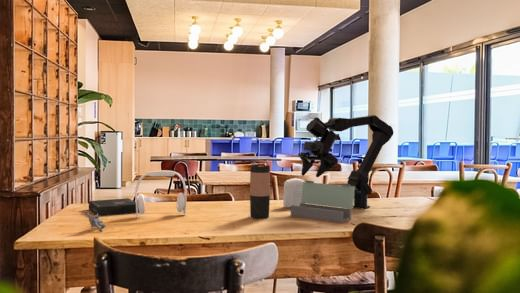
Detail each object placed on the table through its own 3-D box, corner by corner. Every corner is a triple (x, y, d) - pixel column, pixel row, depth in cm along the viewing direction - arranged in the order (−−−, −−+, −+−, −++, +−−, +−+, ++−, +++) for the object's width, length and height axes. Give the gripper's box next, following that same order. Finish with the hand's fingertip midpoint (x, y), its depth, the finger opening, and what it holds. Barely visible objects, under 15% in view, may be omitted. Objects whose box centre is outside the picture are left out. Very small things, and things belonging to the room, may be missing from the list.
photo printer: (300, 204, 214) (300, 177, 213) (306, 206, 210) (306, 178, 210) (281, 206, 208) (282, 178, 208) (287, 208, 205) (288, 179, 204)
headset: (185, 213, 191) (185, 169, 190) (188, 216, 184) (188, 170, 184) (133, 216, 185) (133, 170, 184) (135, 219, 178) (135, 171, 177)
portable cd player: (141, 213, 192) (141, 203, 192) (97, 217, 183) (97, 207, 183) (129, 207, 206) (129, 198, 206) (88, 210, 197) (88, 201, 197)
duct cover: (299, 202, 194) (301, 202, 195) (350, 208, 181) (352, 208, 182) (301, 180, 194) (304, 180, 196) (352, 184, 182) (355, 185, 183)
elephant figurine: (117, 228, 163) (105, 224, 155) (104, 241, 163) (91, 237, 154) (100, 208, 167) (87, 203, 158) (87, 220, 166) (74, 215, 157)
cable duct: (301, 212, 195) (301, 203, 194) (351, 219, 182) (351, 209, 182) (290, 215, 188) (290, 205, 188) (341, 222, 175) (342, 212, 175)
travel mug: (255, 219, 179) (255, 166, 179) (246, 216, 186) (246, 165, 185) (273, 218, 183) (273, 166, 182) (263, 214, 190) (264, 164, 189)
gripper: (298, 133, 203) (282, 164, 199) (328, 133, 188) (311, 167, 183) (315, 147, 208) (300, 178, 204) (345, 148, 193) (329, 181, 188)
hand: (309, 176), depth 195 cm, fingers open, 9 cm apart
